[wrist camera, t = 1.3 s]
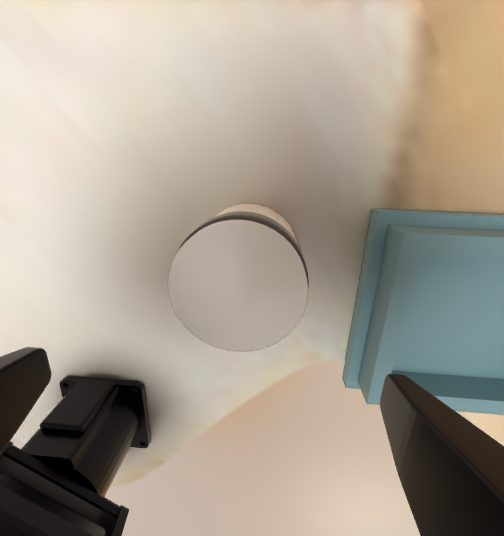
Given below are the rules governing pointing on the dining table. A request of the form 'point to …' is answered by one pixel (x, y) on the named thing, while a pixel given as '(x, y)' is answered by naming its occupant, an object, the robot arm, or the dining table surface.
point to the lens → (240, 279)
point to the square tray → (431, 308)
